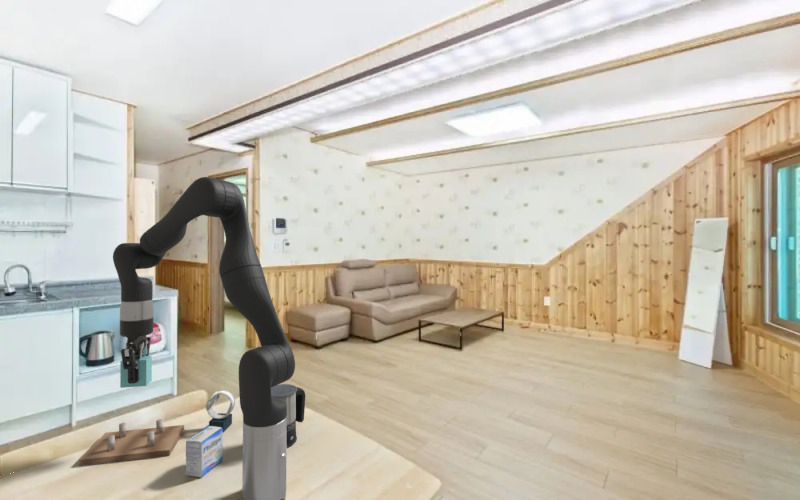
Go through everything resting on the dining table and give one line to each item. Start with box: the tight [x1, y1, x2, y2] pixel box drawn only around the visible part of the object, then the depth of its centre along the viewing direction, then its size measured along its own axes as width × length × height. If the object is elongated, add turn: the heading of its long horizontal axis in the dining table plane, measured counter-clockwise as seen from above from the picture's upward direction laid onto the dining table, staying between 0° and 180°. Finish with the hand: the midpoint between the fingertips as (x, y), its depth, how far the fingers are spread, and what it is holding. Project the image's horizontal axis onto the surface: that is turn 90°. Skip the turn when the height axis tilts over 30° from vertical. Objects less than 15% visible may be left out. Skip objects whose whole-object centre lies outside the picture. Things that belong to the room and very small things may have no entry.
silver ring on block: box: [205, 389, 236, 433], centre depth 116 cm, size 6×8×11 cm
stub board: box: [78, 418, 185, 467], centre depth 105 cm, size 20×14×5 cm
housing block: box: [119, 355, 153, 389], centre depth 104 cm, size 6×4×7 cm, turn 105°
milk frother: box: [271, 383, 306, 449], centre depth 111 cm, size 14×16×15 cm
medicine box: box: [185, 425, 224, 478], centre depth 95 cm, size 8×4×9 cm, turn 168°
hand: (136, 379), depth 104 cm, fingers closed on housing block, 4 cm apart
